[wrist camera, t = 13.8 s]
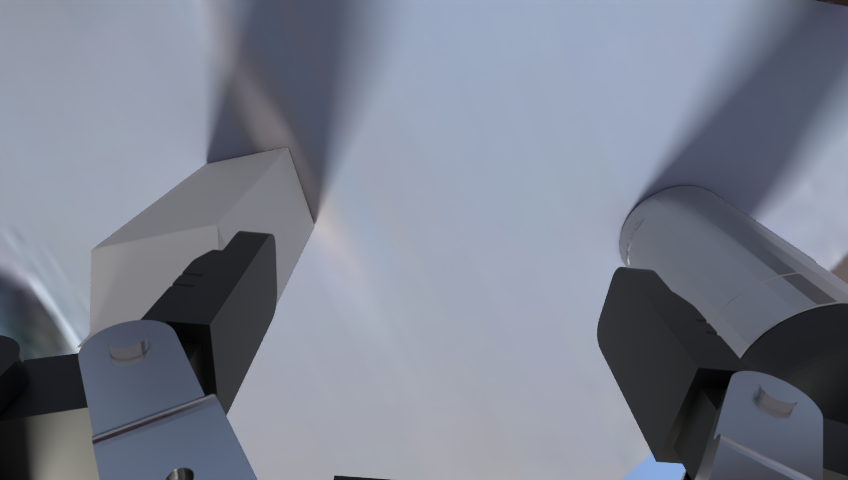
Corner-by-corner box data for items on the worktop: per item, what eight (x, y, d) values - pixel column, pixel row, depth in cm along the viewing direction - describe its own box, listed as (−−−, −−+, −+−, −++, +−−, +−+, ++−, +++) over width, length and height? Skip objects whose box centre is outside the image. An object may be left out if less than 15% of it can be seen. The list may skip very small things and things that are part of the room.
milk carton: (204, 163, 40) (37, 288, 22) (289, 146, 39) (182, 261, 22) (237, 241, 43) (111, 403, 26) (315, 225, 42) (240, 382, 25)
